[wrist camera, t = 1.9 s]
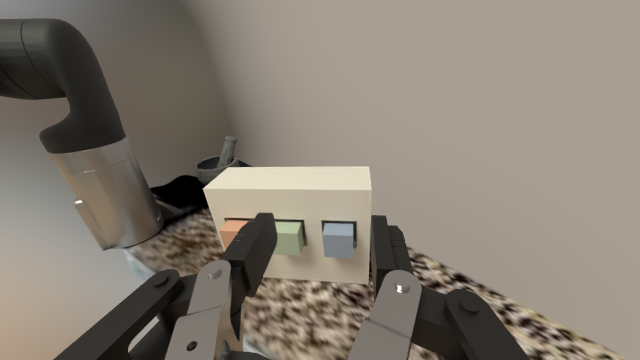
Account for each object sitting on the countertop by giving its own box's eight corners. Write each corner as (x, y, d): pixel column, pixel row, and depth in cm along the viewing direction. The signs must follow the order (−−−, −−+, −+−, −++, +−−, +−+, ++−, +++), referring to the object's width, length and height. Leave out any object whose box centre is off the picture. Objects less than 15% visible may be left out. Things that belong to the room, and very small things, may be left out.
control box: (368, 284, 30) (371, 189, 24) (231, 275, 33) (202, 188, 27) (366, 251, 36) (368, 166, 29) (248, 245, 39) (228, 167, 32)
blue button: (353, 258, 26) (352, 235, 25) (324, 256, 27) (322, 234, 25) (353, 245, 28) (353, 224, 26) (326, 244, 28) (324, 223, 27)
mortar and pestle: (213, 202, 52) (197, 151, 46) (195, 191, 57) (178, 144, 52) (255, 183, 59) (245, 136, 54) (235, 174, 65) (224, 131, 59)
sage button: (300, 255, 27) (297, 233, 26) (273, 254, 27) (268, 232, 26) (303, 243, 29) (300, 222, 27) (278, 242, 29) (274, 221, 28)
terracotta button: (250, 253, 28) (245, 231, 26) (226, 251, 28) (219, 230, 27) (257, 241, 30) (252, 220, 28) (233, 240, 30) (227, 220, 29)
